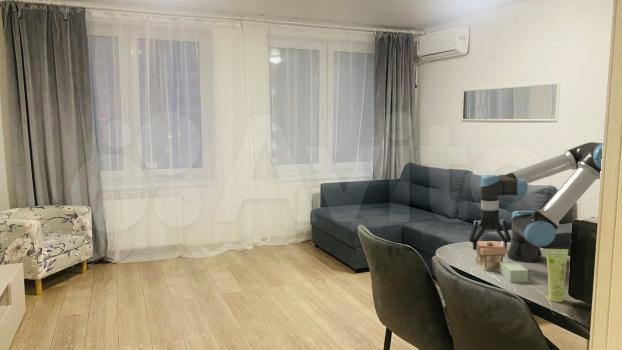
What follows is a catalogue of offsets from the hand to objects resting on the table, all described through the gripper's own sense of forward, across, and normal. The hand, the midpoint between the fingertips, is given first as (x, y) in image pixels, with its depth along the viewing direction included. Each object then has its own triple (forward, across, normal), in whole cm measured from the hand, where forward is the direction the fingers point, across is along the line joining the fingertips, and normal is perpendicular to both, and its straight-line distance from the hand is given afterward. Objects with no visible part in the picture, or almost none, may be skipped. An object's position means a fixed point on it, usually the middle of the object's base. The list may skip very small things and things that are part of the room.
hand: (489, 256), depth 208 cm
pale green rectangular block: (+5, -5, +15) cm, 16 cm away
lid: (-3, 0, 0) cm, 3 cm away
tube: (+5, -10, +40) cm, 42 cm away
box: (+5, 0, 0) cm, 5 cm away
